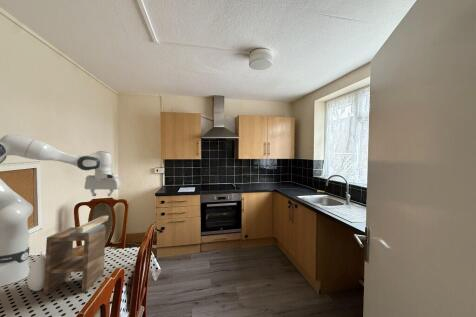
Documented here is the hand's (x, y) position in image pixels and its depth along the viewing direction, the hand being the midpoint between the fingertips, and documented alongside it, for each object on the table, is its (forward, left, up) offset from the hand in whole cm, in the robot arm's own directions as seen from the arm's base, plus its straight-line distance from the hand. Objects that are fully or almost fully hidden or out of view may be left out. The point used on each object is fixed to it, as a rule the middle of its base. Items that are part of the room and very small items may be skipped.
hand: (101, 196), depth 124 cm
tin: (-10, -5, -39) cm, 41 cm away
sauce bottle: (-8, -33, -39) cm, 52 cm away
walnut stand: (+6, -30, -39) cm, 50 cm away
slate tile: (+11, -30, -13) cm, 34 cm away
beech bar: (+11, -26, -12) cm, 30 cm away
